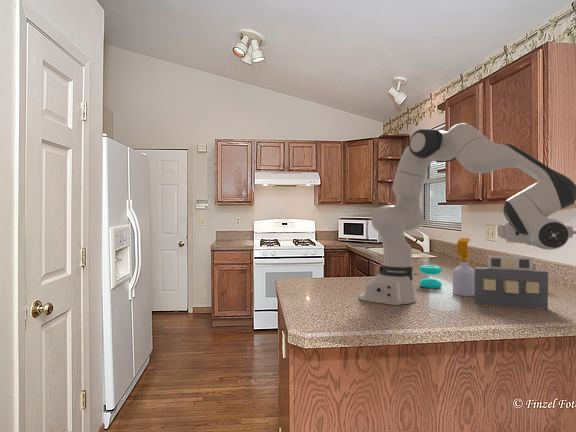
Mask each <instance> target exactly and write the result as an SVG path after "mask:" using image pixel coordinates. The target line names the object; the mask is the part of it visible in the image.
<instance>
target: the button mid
mask: <svg viewBox="0 0 576 432" xmlns="http://www.w3.org/2000/svg"><path fill="white" fill-rule="evenodd" d="M503 290H504V291H505V292H506V293H518V294H519V283H518V282H517V281H516V280H507V279H503Z"/></svg>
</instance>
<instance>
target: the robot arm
mask: <svg viewBox="0 0 576 432" xmlns="http://www.w3.org/2000/svg"><path fill="white" fill-rule="evenodd" d="M454 161H458V163H459V164H460V165H461V166H462V167H463V168H464V169H465V170H466V171H468V172H470V173H473V174H487V173H492V172H494V171H497V170H498V171H499V170H501V169H506V168H507V169H508V168H517V169H519V170H521V171H523V172H524V173H526V175H528V176H529V177H531V178H533V179H534V180H536V182H535V183H533V184H531V185H530V186H528V187H527V188H525V189H523V190H522V191H519V192H517V193H516V194H515V195H513V196H511V197H510V198H508V199H506V200H505V201H504V204H503V209H502V210H503V211H502V212H503V215H504V217H505V219H506V222H505V223H500V224H498V225H497V229H496V230H497V231H496V232H497V233H496V234H497V236H498V237H499V238H501V239H503V240H506V242H508V243H519V244H524V245H525V244H526V245H528V246H534V247H537V248H538V249H539V248H540V249H542V250H547V251H548V250H550V251H551V250H556V249H560V248H562V247H564V246H565V245H566V243H568V241H569V239H573V237H574V235H576V230H574V228H573V226H571V225H566V224H565V223H564V222H562V221H560V220H557V219H554V218H550V217H549V216H551V215H553V214H555V213H556V212H558V211H561V210H563V209H566V208H568V207H570V206H572V205H575V203H576V183H575V181H573V180H572V179H571V178H569V177H567V176H566V175H565V174H562V173H561V172H558V171H556V170H554V169H553V168H551V167H549V166H547V165H546V164H545V163H543V162H541V161H539V160H538V159H537V158H535V157H533V156H532V155H530V154H529V153H527V152H525V151H524V150H523V149H522V150H521V149H520V148H519V147H517V146H515V145H513V144H510V143H505V144H502V143H496V142H493V141H491V140H490V139H489V138H487V136H486V135H484V133H482V132H481V131H480V130H478V129H477V128H475V127H474V126H473V125H471V124H469V123H466V122H461V123H457V124H454V125H453V126H452V127H451V128H450V129H449V130H448V131H446V130H443V129H440V130H439V129H434V128H421V129H418V130H416V131H414V132H413V133H412V134H411V136H410V138H409V141H408V146H406V147H405V148H404V151H403V153H402V155H401V158H400V160H399V162H398V166H397V168H396V173H395V176H394V179H393V182H392V187H391V188H392V191H393V193H394V194H395V204H393V205H392V204H387V205H386V204H385V205H381V206H378V207H376V208H375V209H374V210H372V213H371V216H370V223H371V225H372V227H373V229H375V230H376V232H377V233H378V234H379V237H380V240H381V244H382V248H383V264H379V266H378V274H377V275H375V276H374V277H372V278H371V279H370V280H369V281H368V282H367V283H366V284H365V288H364V291H363V292H362V293H360V294H359V297H358V299H359V300H360V301H364V302H370V303H378V304H384V305H385V304H386V305H393V306H400V305H406V304H413V303H416V302H417V300H416V297H415V292H414V287H413V286H414V284H413V279H414V267H413V264H412V263H413V261H412V260H413V259H412V257H413V252H412V250H413V248H412V246H411V245H410V243H408V241H407V240H406V237H405V232H411V231H415V230H418V229H419V228H420V227H421V226H422V225H423V223H424V215H423V214H424V213H423V212H422V210H421V205H420V203H421V201H420V198H421V194H422V193H421V192H422V190H423V185H424V182H425V177H426V175H427V172H428V171H427V170H428V169H429V166H430V164H432V163H433V162H436V163H447V162H448V163H449V162H454Z"/></svg>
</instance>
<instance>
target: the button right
mask: <svg viewBox="0 0 576 432" xmlns="http://www.w3.org/2000/svg"><path fill="white" fill-rule="evenodd" d="M525 292H526V293H538V294H539V282H537V281H525Z"/></svg>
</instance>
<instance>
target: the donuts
mask: <svg viewBox="0 0 576 432" xmlns="http://www.w3.org/2000/svg"><path fill="white" fill-rule="evenodd" d="M419 271H420V273H422V274H424V275H432V276H433V275H438V274H441V273H442V271H443V269H442V268H441V266H438V265H432V264H431V265H430V264H425V265H421V266H419ZM442 285H443V284H442V281H440V280H439V279H436V278H422V279H421V280H420V281H419V286H421V287H422V288H425V289H439V288H441V287H442Z"/></svg>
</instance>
